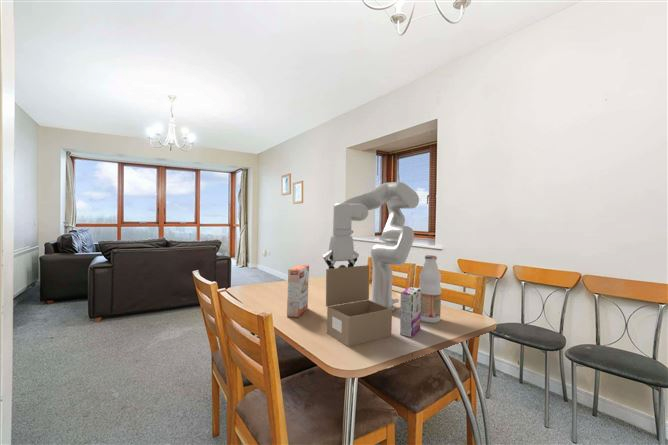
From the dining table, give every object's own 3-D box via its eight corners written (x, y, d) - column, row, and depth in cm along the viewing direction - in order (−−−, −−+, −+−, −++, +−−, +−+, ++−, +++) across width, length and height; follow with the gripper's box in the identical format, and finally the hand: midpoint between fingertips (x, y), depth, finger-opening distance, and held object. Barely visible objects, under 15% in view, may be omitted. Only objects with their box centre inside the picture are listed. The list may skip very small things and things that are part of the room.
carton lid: (368, 299, 126) (358, 296, 132) (369, 264, 126) (359, 262, 132) (326, 306, 115) (318, 302, 121) (327, 268, 115) (318, 266, 121)
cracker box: (299, 318, 131) (300, 270, 131) (286, 316, 132) (287, 269, 132) (308, 308, 145) (309, 264, 144) (296, 307, 146) (297, 264, 145)
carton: (367, 323, 126) (368, 299, 126) (391, 335, 114) (392, 309, 114) (326, 333, 115) (326, 306, 115) (347, 347, 103) (348, 317, 103)
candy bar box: (408, 326, 124) (409, 286, 124) (420, 328, 122) (421, 288, 121) (399, 335, 115) (400, 292, 114) (412, 338, 112) (413, 294, 112)
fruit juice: (417, 321, 130) (419, 256, 129) (417, 314, 139) (419, 254, 138) (441, 324, 127) (443, 258, 127) (439, 317, 136) (441, 255, 136)
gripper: (353, 232, 132) (352, 271, 133) (319, 232, 123) (318, 275, 124) (364, 233, 126) (363, 274, 127) (329, 234, 117) (328, 278, 117)
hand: (341, 274), depth 125 cm, fingers open, 9 cm apart
